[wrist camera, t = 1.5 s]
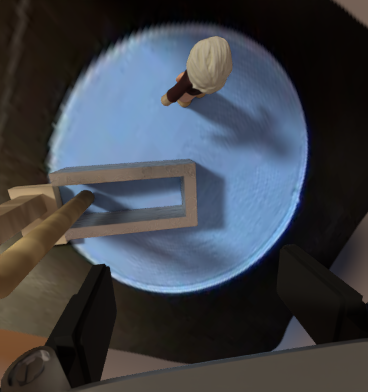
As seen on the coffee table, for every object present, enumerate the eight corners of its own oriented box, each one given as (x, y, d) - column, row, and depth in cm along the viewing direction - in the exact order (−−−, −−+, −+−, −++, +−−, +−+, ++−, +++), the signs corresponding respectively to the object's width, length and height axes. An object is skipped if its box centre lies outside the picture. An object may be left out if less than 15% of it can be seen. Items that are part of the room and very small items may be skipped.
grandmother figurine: (201, 57, 24) (246, -17, 12) (219, 85, 26) (276, 44, 14) (152, 99, 25) (150, 68, 13) (172, 125, 26) (186, 118, 14)
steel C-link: (189, 158, 28) (195, 163, 23) (191, 212, 30) (197, 225, 26) (66, 167, 26) (48, 173, 22) (79, 223, 28) (65, 239, 24)
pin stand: (16, 186, 26) (-284, 301, 8) (93, 180, 27) (-25, 270, 9) (33, 241, 28) (-170, 422, 11) (103, 234, 29) (25, 387, 12)
